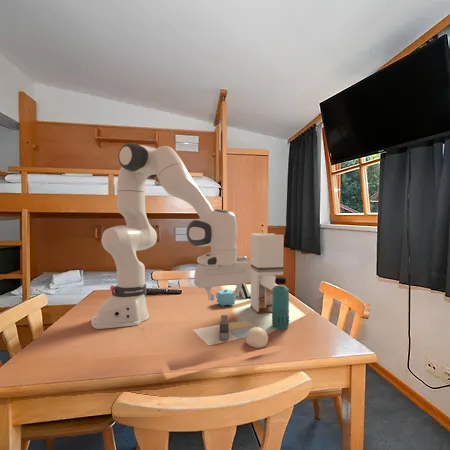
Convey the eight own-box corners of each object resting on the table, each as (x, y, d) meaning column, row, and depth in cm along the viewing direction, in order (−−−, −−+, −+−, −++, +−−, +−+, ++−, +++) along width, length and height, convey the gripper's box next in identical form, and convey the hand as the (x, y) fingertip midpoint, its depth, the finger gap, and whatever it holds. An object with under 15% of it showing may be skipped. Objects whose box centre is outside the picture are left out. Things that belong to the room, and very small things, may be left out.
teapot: (237, 302, 146) (237, 287, 145) (241, 305, 140) (241, 290, 140) (214, 303, 143) (214, 288, 143) (216, 307, 137) (216, 291, 137)
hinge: (253, 298, 152) (246, 280, 152) (244, 301, 152) (238, 283, 151) (247, 290, 169) (241, 274, 168) (239, 293, 168) (234, 277, 168)
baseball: (241, 346, 96) (241, 326, 96) (260, 342, 99) (260, 322, 99) (251, 354, 90) (251, 333, 90) (271, 350, 93) (271, 329, 93)
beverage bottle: (276, 334, 106) (276, 279, 105) (268, 327, 112) (269, 276, 112) (292, 332, 107) (292, 278, 107) (284, 325, 114) (284, 275, 113)
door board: (208, 350, 93) (208, 331, 93) (192, 333, 106) (192, 317, 106) (265, 337, 103) (265, 320, 103) (244, 323, 116) (244, 308, 116)
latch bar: (228, 340, 96) (228, 325, 96) (219, 340, 96) (219, 325, 96) (228, 329, 105) (228, 316, 105) (219, 329, 105) (220, 316, 105)
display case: (257, 317, 124) (258, 235, 123) (250, 309, 134) (251, 233, 133) (282, 315, 126) (283, 234, 125) (274, 308, 136) (274, 233, 135)
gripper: (245, 254, 106) (245, 292, 106) (192, 258, 96) (192, 299, 97) (254, 256, 100) (254, 296, 100) (199, 260, 91) (199, 304, 91)
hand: (223, 298), depth 98 cm, fingers open, 8 cm apart
